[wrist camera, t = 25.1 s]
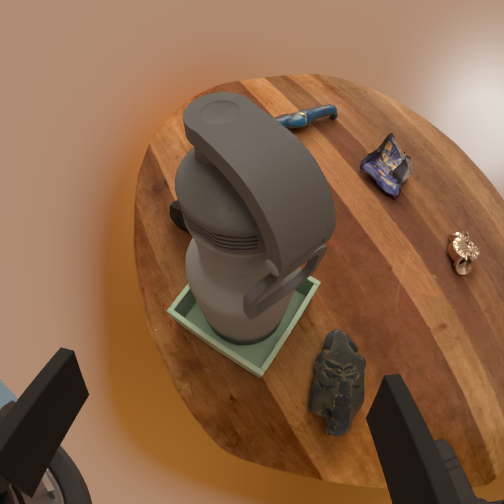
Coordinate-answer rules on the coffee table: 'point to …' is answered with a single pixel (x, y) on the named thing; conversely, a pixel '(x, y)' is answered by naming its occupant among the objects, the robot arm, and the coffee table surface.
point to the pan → (245, 356)
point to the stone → (338, 383)
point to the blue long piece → (306, 116)
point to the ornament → (463, 252)
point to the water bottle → (248, 215)
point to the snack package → (388, 166)
